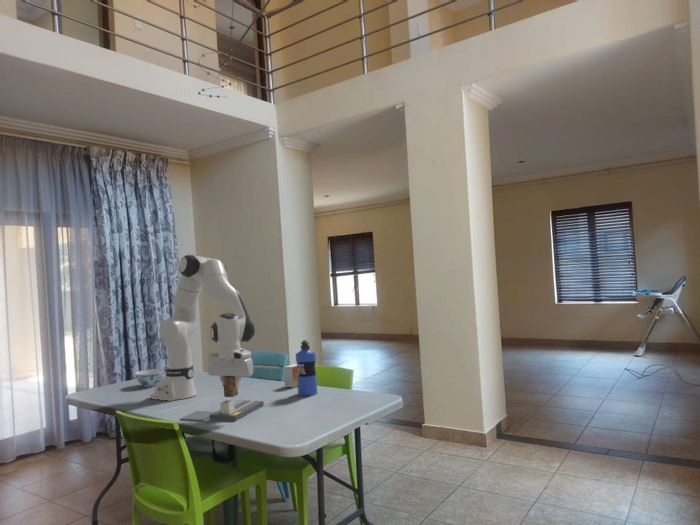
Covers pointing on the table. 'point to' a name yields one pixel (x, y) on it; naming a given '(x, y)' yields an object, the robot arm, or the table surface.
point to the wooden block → (230, 386)
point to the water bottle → (306, 370)
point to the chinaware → (149, 377)
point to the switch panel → (238, 410)
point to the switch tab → (227, 406)
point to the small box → (290, 375)
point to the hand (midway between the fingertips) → (230, 386)
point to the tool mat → (197, 416)
